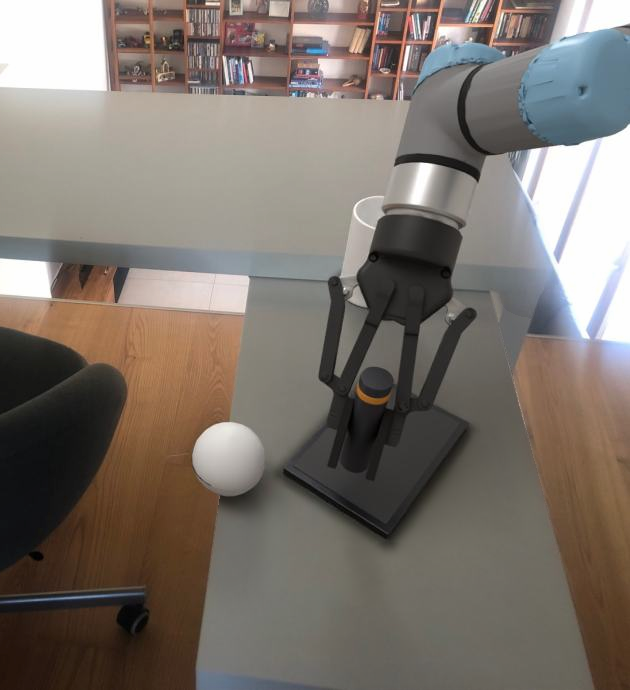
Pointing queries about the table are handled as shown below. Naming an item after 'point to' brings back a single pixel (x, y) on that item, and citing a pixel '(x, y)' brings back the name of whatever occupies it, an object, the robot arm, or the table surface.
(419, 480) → the tablet
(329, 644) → the table surface
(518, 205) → the table surface
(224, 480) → the white sphere
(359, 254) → the mug
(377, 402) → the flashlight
